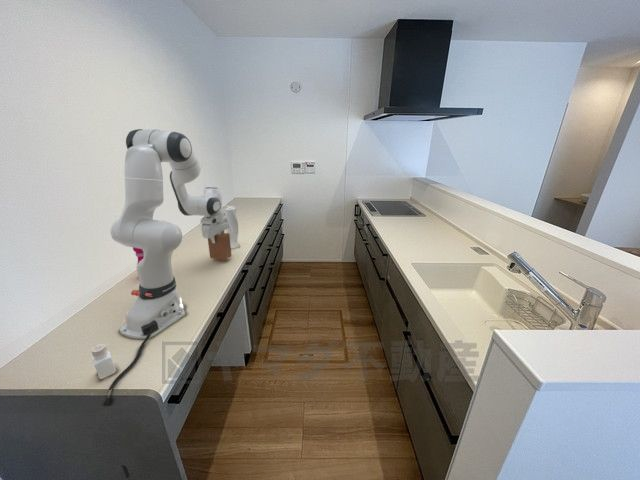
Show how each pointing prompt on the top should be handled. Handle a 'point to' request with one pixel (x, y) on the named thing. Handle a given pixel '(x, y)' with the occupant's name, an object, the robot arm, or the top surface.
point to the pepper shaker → (103, 361)
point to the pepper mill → (139, 254)
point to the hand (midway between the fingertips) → (218, 240)
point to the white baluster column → (232, 226)
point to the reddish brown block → (220, 247)
